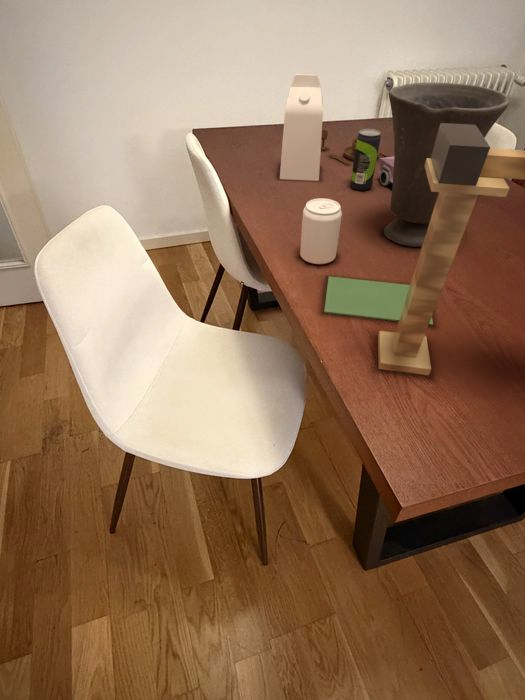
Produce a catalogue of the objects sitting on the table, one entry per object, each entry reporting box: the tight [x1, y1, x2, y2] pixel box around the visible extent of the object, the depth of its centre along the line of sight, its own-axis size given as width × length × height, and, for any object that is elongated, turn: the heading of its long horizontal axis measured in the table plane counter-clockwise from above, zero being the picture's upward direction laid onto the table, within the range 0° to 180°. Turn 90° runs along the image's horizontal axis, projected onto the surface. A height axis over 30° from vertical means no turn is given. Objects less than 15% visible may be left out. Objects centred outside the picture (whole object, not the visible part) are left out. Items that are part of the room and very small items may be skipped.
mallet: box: [431, 123, 525, 186], centre depth 45 cm, size 16×8×4 cm, turn 79°
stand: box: [377, 158, 510, 376], centre depth 58 cm, size 8×8×30 cm
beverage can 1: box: [299, 197, 343, 265], centre depth 87 cm, size 8×8×12 cm
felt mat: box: [323, 276, 434, 326], centre depth 79 cm, size 20×12×1 cm, turn 79°
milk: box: [279, 73, 324, 182], centre depth 118 cm, size 12×12×26 cm
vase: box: [383, 82, 511, 248], centre depth 87 cm, size 22×22×30 cm
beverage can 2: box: [349, 128, 382, 192], centre depth 113 cm, size 6×6×15 cm
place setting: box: [321, 129, 389, 165], centre depth 137 cm, size 18×20×6 cm
